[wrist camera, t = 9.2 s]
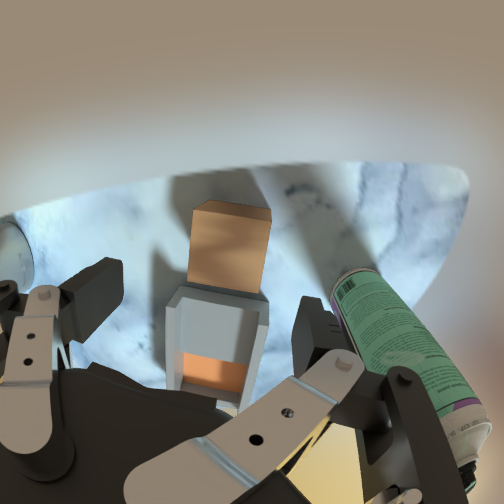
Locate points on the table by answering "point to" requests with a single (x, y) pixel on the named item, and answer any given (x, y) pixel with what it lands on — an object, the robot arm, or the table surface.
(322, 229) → the table surface
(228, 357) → the channel
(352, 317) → the spray can
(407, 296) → the table surface
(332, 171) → the table surface
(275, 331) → the table surface
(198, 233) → the walnut block
